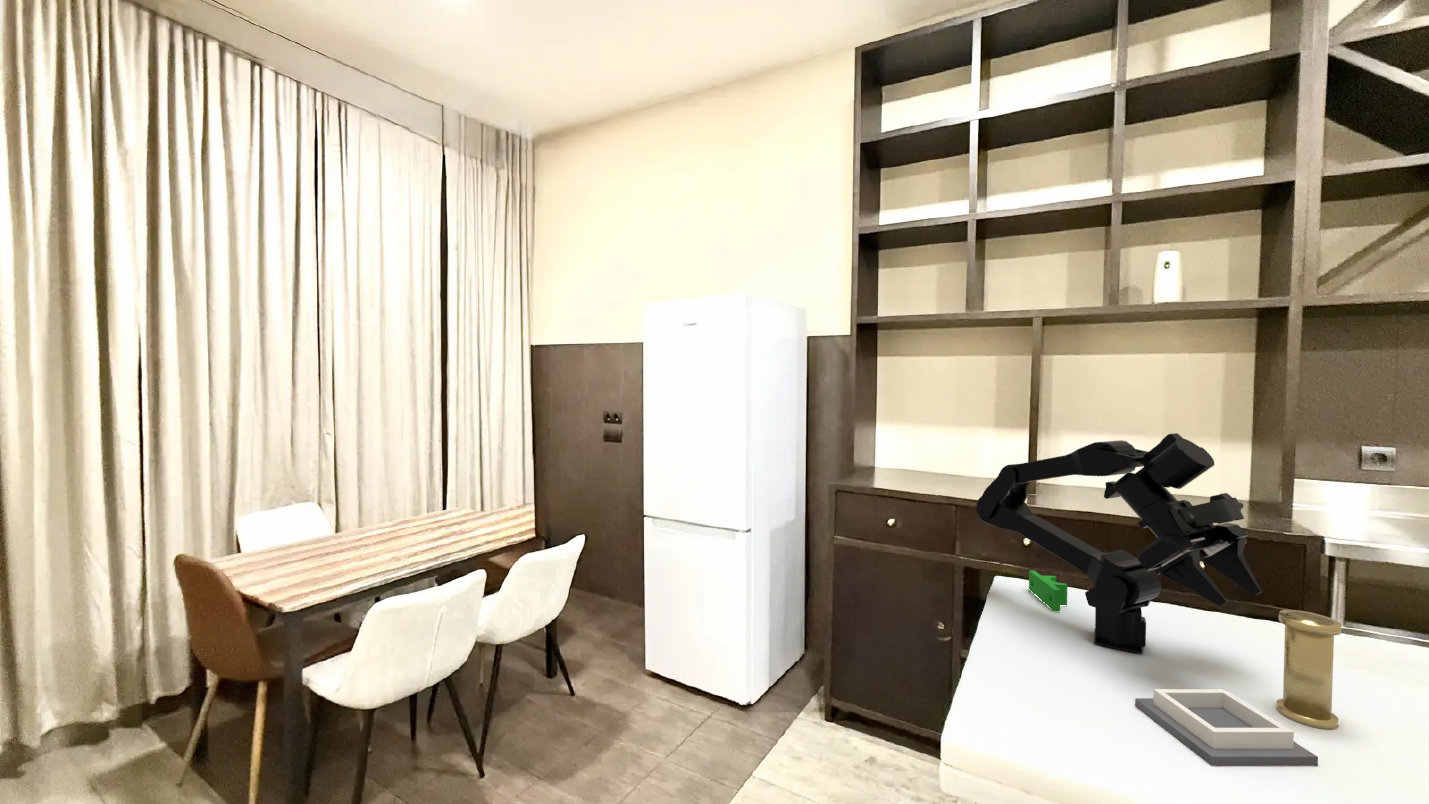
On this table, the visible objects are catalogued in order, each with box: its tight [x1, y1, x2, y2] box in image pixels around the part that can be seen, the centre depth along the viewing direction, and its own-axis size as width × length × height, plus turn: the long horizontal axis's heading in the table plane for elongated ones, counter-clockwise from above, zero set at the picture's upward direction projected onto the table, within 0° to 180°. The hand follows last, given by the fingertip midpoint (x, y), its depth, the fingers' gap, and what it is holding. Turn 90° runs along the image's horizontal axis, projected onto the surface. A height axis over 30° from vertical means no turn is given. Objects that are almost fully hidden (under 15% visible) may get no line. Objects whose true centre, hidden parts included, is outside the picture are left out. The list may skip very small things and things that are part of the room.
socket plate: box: [1134, 688, 1319, 766], centre depth 71 cm, size 12×12×3 cm
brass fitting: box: [1275, 609, 1342, 730], centre depth 74 cm, size 6×6×13 cm
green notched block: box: [1028, 570, 1068, 612], centre depth 114 cm, size 11×4×5 cm, turn 173°
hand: (1241, 599), depth 80 cm, fingers open, 9 cm apart
